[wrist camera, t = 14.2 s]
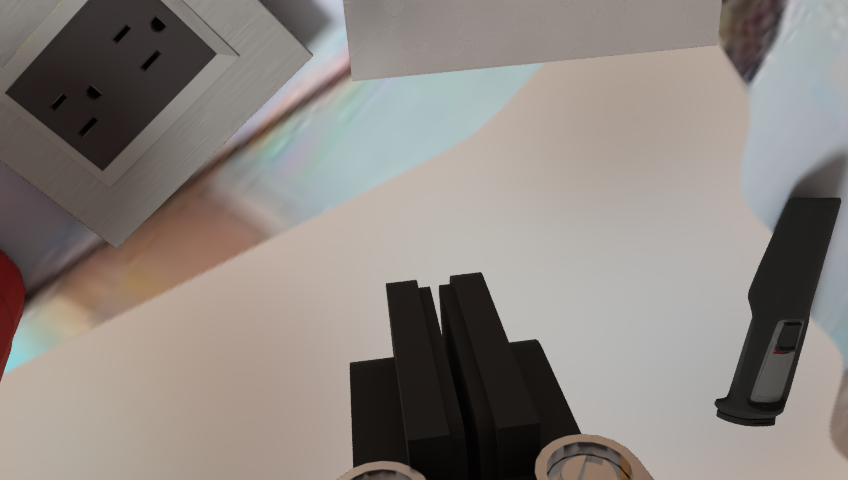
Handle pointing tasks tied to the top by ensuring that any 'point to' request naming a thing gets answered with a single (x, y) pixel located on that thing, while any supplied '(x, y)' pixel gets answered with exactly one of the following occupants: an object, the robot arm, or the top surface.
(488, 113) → the top surface
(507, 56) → the socket plate
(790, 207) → the electric trimmer
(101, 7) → the electrical outlet
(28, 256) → the top surface
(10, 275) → the plastic cup
